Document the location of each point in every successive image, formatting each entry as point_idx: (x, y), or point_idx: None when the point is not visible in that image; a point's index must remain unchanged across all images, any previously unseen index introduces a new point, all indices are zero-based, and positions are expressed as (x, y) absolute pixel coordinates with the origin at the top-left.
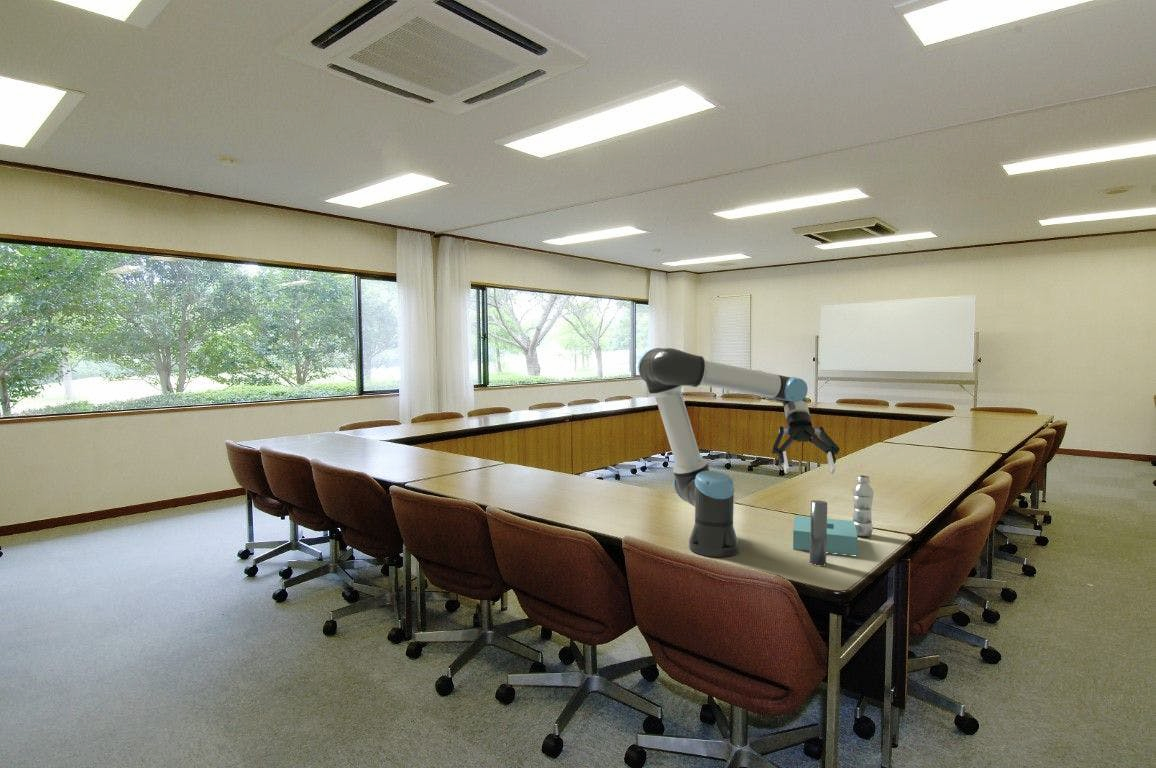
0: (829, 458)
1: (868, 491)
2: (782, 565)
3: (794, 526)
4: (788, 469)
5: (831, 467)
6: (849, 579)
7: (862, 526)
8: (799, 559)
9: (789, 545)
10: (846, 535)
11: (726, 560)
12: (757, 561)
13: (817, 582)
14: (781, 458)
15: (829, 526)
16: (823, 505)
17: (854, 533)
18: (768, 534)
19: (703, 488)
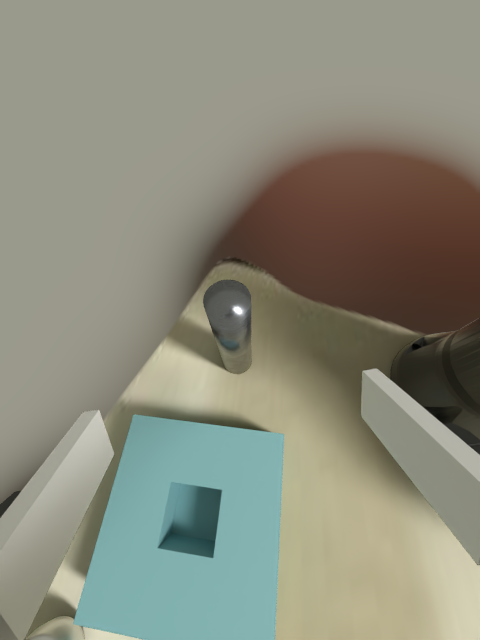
0: (44, 507)
1: None
2: (300, 333)
3: (280, 478)
4: (363, 379)
5: (92, 438)
6: (199, 302)
7: (49, 633)
8: (269, 372)
9: (286, 467)
10: (155, 423)
11: (399, 331)
12: (345, 341)
13: (249, 279)
14: (464, 438)
15: (171, 547)
16: (218, 283)
17: (128, 448)
18: (346, 571)
19: None
